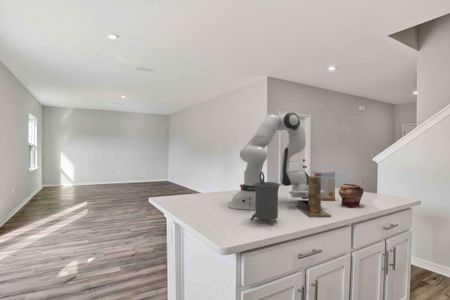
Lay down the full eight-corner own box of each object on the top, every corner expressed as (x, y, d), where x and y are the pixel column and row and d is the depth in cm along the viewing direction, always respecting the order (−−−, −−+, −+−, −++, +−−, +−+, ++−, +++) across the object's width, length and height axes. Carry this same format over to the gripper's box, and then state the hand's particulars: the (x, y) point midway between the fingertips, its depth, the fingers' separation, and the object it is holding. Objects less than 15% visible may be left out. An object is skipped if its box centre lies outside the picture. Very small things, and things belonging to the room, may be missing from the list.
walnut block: (311, 212, 141) (312, 177, 141) (308, 209, 147) (308, 176, 147) (320, 212, 141) (320, 177, 141) (316, 209, 147) (316, 176, 147)
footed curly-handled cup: (286, 225, 121) (287, 174, 121) (258, 227, 118) (258, 175, 118) (272, 215, 140) (272, 170, 139) (247, 216, 137) (247, 171, 137)
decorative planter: (353, 202, 173) (353, 182, 173) (370, 206, 162) (370, 184, 162) (333, 205, 164) (333, 184, 164) (349, 209, 153) (350, 187, 153)
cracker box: (332, 199, 183) (332, 171, 183) (335, 201, 177) (335, 171, 177) (312, 198, 185) (313, 170, 184) (315, 200, 179) (315, 171, 178)
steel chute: (309, 217, 135) (309, 209, 135) (295, 206, 160) (295, 200, 160) (331, 217, 136) (331, 209, 136) (313, 206, 161) (313, 200, 161)
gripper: (288, 187, 162) (294, 191, 148) (319, 187, 162) (328, 191, 148) (288, 196, 162) (294, 201, 148) (319, 196, 162) (328, 201, 148)
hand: (311, 196), depth 148 cm, fingers closed
